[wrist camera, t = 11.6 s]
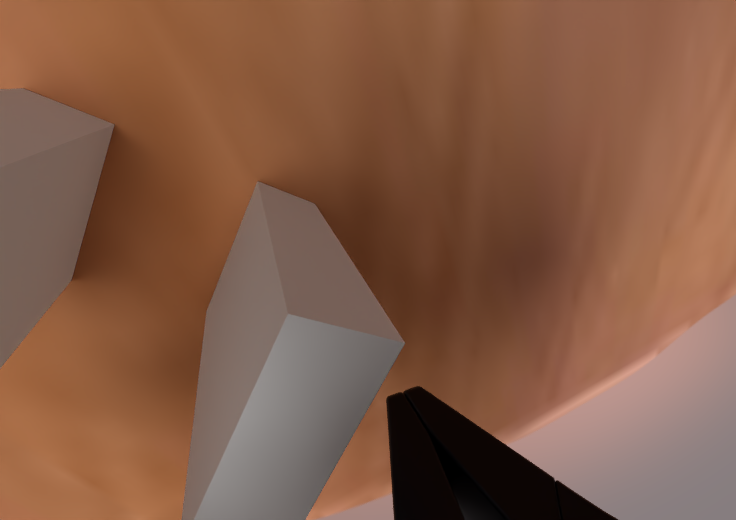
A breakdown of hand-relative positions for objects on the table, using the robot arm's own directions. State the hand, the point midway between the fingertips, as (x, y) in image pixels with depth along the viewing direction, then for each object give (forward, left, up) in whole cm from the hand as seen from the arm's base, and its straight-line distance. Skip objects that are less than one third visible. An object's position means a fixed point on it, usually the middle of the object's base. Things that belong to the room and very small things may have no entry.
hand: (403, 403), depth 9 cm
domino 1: (+2, -2, -6) cm, 7 cm away
